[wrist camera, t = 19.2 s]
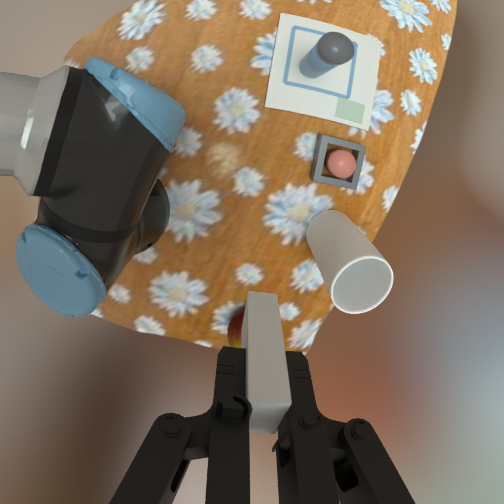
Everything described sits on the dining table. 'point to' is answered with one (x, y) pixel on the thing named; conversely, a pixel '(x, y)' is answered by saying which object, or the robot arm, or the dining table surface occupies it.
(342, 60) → the marker
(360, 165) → the button housing
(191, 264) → the dining table surface
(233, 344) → the fruit
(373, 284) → the cup
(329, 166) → the button
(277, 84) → the board
